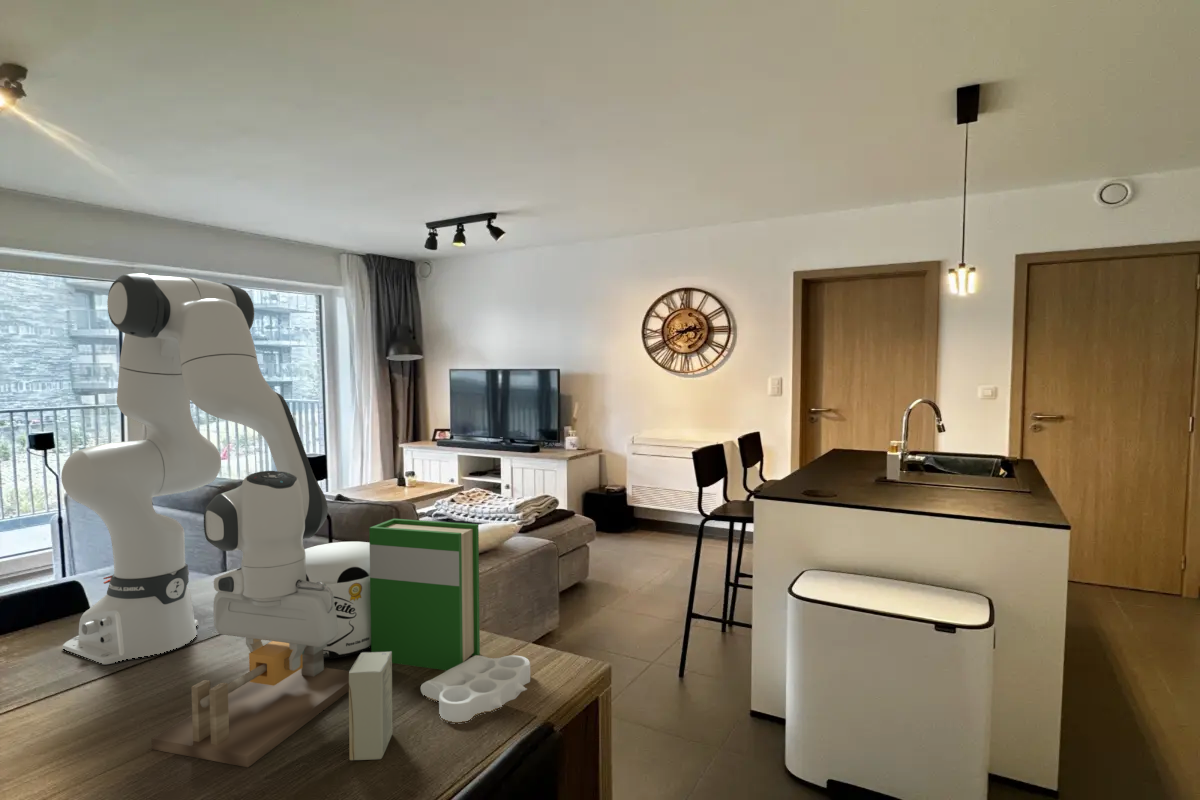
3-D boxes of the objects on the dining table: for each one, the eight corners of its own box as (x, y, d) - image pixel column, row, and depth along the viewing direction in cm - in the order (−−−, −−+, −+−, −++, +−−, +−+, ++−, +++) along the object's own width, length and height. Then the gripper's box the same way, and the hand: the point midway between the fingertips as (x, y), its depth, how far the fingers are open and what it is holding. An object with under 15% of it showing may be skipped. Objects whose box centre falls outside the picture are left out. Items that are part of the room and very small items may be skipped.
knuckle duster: (484, 662, 114) (550, 684, 106) (404, 707, 99) (474, 736, 91) (484, 644, 114) (550, 664, 106) (404, 686, 98) (473, 713, 91)
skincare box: (362, 735, 90) (360, 651, 90) (394, 733, 91) (392, 650, 90) (348, 762, 84) (346, 672, 83) (382, 760, 84) (381, 670, 84)
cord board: (151, 749, 87) (149, 684, 87) (281, 670, 110) (280, 619, 110) (248, 767, 83) (246, 699, 82) (361, 681, 106) (361, 628, 106)
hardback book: (479, 654, 116) (478, 524, 115) (460, 672, 109) (458, 534, 108) (395, 643, 121) (393, 518, 120) (371, 660, 114) (369, 527, 113)
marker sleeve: (249, 682, 96) (249, 653, 96) (279, 664, 102) (278, 637, 102) (274, 685, 95) (273, 656, 95) (302, 667, 101) (302, 640, 100)
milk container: (300, 676, 108) (297, 572, 107) (281, 642, 122) (279, 549, 121) (401, 650, 118) (399, 554, 117) (373, 621, 132) (371, 535, 131)
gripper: (346, 577, 98) (347, 665, 99) (237, 567, 103) (240, 650, 104) (317, 590, 92) (319, 684, 93) (204, 579, 97) (206, 667, 98)
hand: (276, 666), depth 98 cm, fingers closed on marker sleeve, 4 cm apart
